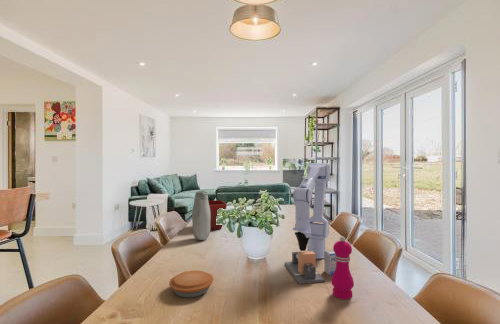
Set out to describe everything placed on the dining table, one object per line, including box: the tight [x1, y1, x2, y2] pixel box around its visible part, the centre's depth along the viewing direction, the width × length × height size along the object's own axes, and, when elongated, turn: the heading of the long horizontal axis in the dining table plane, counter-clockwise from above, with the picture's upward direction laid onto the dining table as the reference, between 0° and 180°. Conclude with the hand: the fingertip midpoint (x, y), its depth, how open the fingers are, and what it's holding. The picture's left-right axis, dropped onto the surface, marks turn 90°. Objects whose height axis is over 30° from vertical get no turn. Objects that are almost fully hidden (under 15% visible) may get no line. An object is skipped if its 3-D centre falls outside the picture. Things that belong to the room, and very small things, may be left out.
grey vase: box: [191, 190, 211, 241], centre depth 160 cm, size 10×10×28 cm
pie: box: [168, 270, 215, 299], centre depth 100 cm, size 15×16×5 cm
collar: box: [297, 250, 317, 274], centre depth 110 cm, size 3×6×8 cm, turn 98°
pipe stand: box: [284, 251, 325, 285], centre depth 114 cm, size 19×10×6 cm, turn 8°
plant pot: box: [208, 199, 228, 231], centre depth 187 cm, size 19×19×17 cm
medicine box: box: [323, 249, 336, 277], centre depth 114 cm, size 8×4×9 cm, turn 105°
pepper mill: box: [331, 236, 355, 300], centre depth 95 cm, size 7×7×20 cm
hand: (302, 250), depth 115 cm, fingers closed
